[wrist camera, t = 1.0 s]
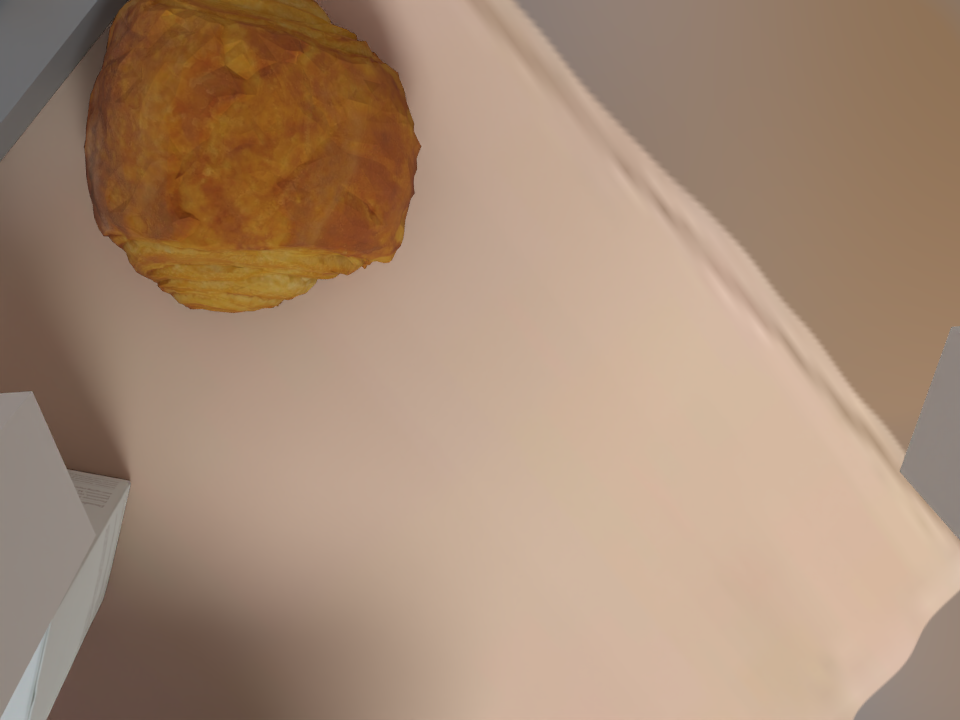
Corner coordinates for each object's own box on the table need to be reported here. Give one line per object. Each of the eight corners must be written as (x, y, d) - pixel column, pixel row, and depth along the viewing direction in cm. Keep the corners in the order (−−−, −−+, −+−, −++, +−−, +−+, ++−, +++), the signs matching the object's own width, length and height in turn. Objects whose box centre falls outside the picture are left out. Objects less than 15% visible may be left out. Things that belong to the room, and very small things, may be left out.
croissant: (95, 256, 37) (31, 301, 29) (143, -75, 32) (82, -120, 24) (371, 324, 40) (376, 378, 33) (450, 37, 36) (477, 26, 28)
